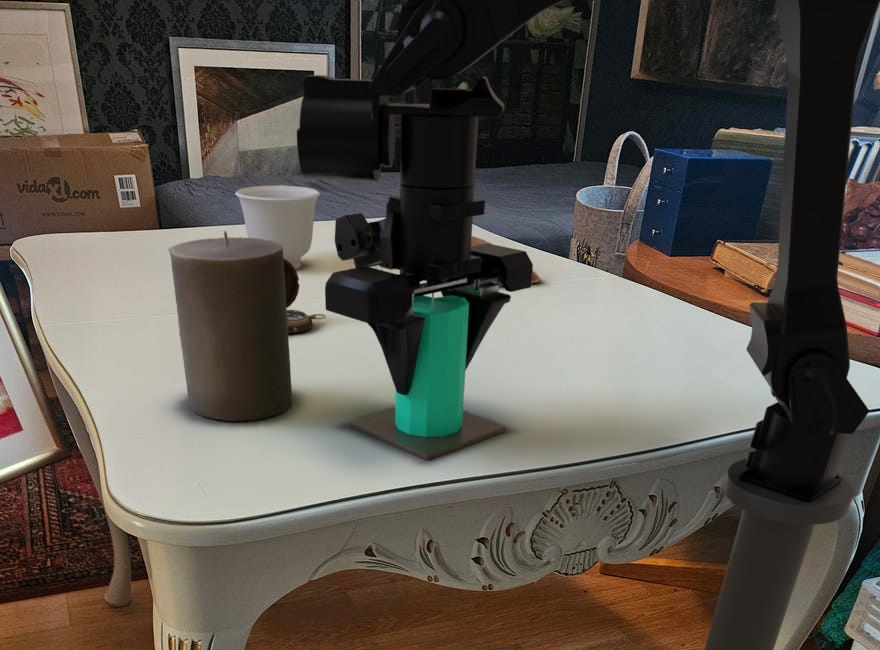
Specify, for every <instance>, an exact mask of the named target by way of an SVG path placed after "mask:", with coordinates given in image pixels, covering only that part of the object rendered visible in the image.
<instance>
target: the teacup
mask: <svg viewBox="0 0 880 650" xmlns="http://www.w3.org/2000/svg"><path fill="white" fill-rule="evenodd" d="M234 194H235V196H236V197H237V198H238V200H239V202H240V206H241V210H242V214H243V218H244V225H245V230H246V236H247V238H257V239H264V240H269V241H274V242H276V243H278V244H280V245H281V246H282V248H283V258H284V259H286V260H287V261H288V262H290V263H291V264H292V265H293V267H294V268H295V270H297V269H299V268H301V267H302V263H301V258H302V257H303V256H305V255H306V254H308V253H309V251H310V249H311V247H312V241H313V234H314V233H313V232H314V223H315V222H314V219H315V210H316V204H317V200H318V198H319V197H320V195H321V193H320V191H318V190H317V189H314V188H310V187H304V186H297V185H296V186H295V185H294V186H293V185H284V184H283V185H281V184H280V185H257V186H248V187H243V188H240V189H237V190H236V191H235V193H234Z"/></svg>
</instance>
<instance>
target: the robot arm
mask: <svg viewBox="0 0 880 650" xmlns="http://www.w3.org/2000/svg"><path fill="white" fill-rule="evenodd" d="M564 1H565V0H403V2H402V5H401V9H400V12H399V15H398V20H397V40H396V41H395V43H394V45H393V46H392V48H391V49H390V51H389V53H388V54H387V56H386V57H385V59H384V61H383V62H382V64H381V65H378V66H377V72H376V74H375V75H374V77H373V78H372V79H362V78H361V79H360V78H359V79H357V78H337V77H332V76H329V75H324V74H310V75H305V76H304V78H303V79H302V81H303V82H302V83H303V84H302V85H303V97H302V99H301V104H300V110H299V112H300V113H299V126H298V127H299V128H297V130H296V145H297V147H296V148H297V155H298V162H299V163H298V164H299V168H300V171H301V174H302V177H303V178H304V179H306V180H321V181H322V180H323V181H349V182H372V183H373V182H376V183H377V182H378V181H379V179H380V177H381V170H382V166H383V167H384V168H392V167H393V165H394V160H395V154H396V153H395V152H396V115H400V158H399V159H400V160H399V161H400V163H399V164H400V166H399V169H400V170H399V171H400V172H399V173H400V174H399V195H395V196H388V201H387V202H386V207H385V209H386V212H385V218H383V219H380V220H376V221H370V222H368V220H367V219H366V217H365V215H364V214H363V213H361V212H359V213H358V212H357V213H351V214H345V215H342V216H340V217H338V218H335V225H334V226H335V227H334V245H335V249H336V254H337V256H338V258H339V259H340V260H341V261H343V262H345V261H350V260H352V261H353V264H354V268H349V269H344V270H338V271H333V272H332V273H331V275H330V276H329V278H328V279H327V280H326V282H325V286H324V296H325V297H324V299H325V300H324V301H325V311H327V312H330V313H334V314H337V315H339V316H340V315H341V316H343V317H347V318H350V319H353V320H356V321H360V322H362V323H365V324H368V326H369V327H370V329H371V330H372V331H373V332H374V334H375V336H376V339H377V341H378V343H379V345H380V347H381V350H382V353H383V356H384V360H385V362H386V365H387V368H388V371H389V373H390V377H391V379H392V383H393V385H394V388H395V389H396V391H397V393H399V394H402V395H407V394H408V393H409V390H410V387H411V384H412V380H413V376H414V371H415V366H416V361H417V356H418V352H419V347H420V342H421V337H422V332H423V328H424V323H425V318H424V317H421V316H417V315H414V314H413V298H414V297H418V296H423V295H424V296H428V295H432V293H434V294H435V293H439V292H440V293H441V295H442V297H444V296H451V295H453V296H458V297H462V298H465V299H466V300H467V301H468V303H469V315H468V332H467V350H466V367H465V372H466V371H467V369H468V367H469V366H470V364H471V362H472V361H473V358H474V356H475V354H476V353H477V351H478V349H479V347H480V345H481V343H482V342H483V340H484V338H485V336H486V334H487V333H488V331H489V329H490V328H491V327H492V325H493V323H494V321H495V320H496V318H497V317H498V315H499V313H500V312H501V310H502V309H503V307H504V306H505V305H506V304H509V303H510V301H511V299H512V296H511V294H509V293H513V292H517V291H521V290H525V289H529V288H532V284H531V280H532V270H533V269H534V263H533V262H532V260H531V258H530V256H529V255H528V252H527V251H526V250H522V249H517V248H511V247H506V246H504V245H503V246H502V245H498V244H493V243H491V244H488V243H486V244H481V245H476V246H471V239H472V235H473V220H474V219H473V218H474V217H478V216H484V215H485V209H486V208H485V207H486V200H485V199H479V198H475V185H476V184H475V183H476V167H477V166H476V165H477V150H478V149H477V148H478V132H479V118H500V117H501V116H502V115H503V113H504V112H505V108H506V106H505V103H504V102H503V101H502V100H500V98H499V97H498V96H497V95H496V94H495V92H494V91H493V89H492V87H491V85H490V82H489V79H488V77H487V76H482V77H481V78H479V80H478V81H477V83H476V84H475V85H474V87H473V88H446V87H445V88H444V87H433V88H432V89H431V93H430V97H429V103H398V102H397V103H393V102H389V99H390V98H389V96H394V97H395V96H397V97H398V96H401V95H403V94H405V93H408V92H410V91H412V90H415V89H416V88H418V87H419V86H420V85H421V84H423V83H424V82H425V81H426V80H427V79H431V80H444V79H449V78H451V77H454V76H456V75H459V74H462V72H464V71H466V70H467V69H469V68H470V67H471V66H473V65H474V64H475V63H477V62H478V61H479V60H481V59H482V58H483V57H485V56H486V55H487V54H488V53H490V52H491V51H492V50H493V49H495V48H496V47H497V46H500V45H501V43H503V42H504V41H506V40H507V39H508V38H509V37H510V36H512V35H513V34H514V33H516V32H517V31H519V30H520V29H521V28H522V27H524V26H525V25H526V24H528V23H529V22H530V21H532V20H533V19H534V18H535V17H537V16H538V15H539V14H541V13H543V12H544V11H546V10H549V9H551V8H553V7H554V6H556V5H559V4H560V3H562V2H564ZM775 2H776V3H775V4H776V13H777V21H778V25H779V30H780V35H781V40H782V44H783V48H784V53H785V58H786V62H787V63H786V64H787V71H788V78H787V80H788V81H787V99H786V114H785V115H786V116H785V131H784V149H783V167H782V182H781V183H782V184H781V199H780V200H781V201H780V204H781V205H780V215H779V216H780V217H779V232H778V233H779V234H778V235H779V236H778V252H777V267H776V268H777V271H776V277H775V282H774V284H773V286H772V289H771V292H770V294H769V297H768V299H767V302H750V303H749V315H750V322H751V334H750V339H749V342H748V345H747V347H746V352H747V353H748V355H749V357H750V358H751V359H752V361H753V362H754V365H756V368H757V369H758V370H759V372H760V373H761V375H762V378H764V380H765V381H766V383H767V384H768V385H767V386H769V388H770V394H771V396H772V397H774V398H775V400H776V402H775V403H772V404H771V405H768V406H767V407H766V408H765V411H764V415H763V419H761V420H759V421H757V422H756V424H755V426H754V431H753V434H752V438H751V443H750V449H751V448H752V449H754V451H749V452H747V457H746V459H747V460H746V466H747V467H749V469H747V470H745V471H744V472H742V473H740V477H739V479H740V480H742V481H745V482H748V483H751V484H754V485H756V486H759V487H762V488H765V489H768V490H771V491H774V492H777V493H779V494H782V495H785V496H788V497H791V498H794V499H797V500H799V501H802V502H807V503H810V502H812V501H814V500H815V499H817V498H818V497H820V496H821V495H823V494H825V493H826V492H828V491H829V490H831V489H832V488H834V487H835V486H837V485H838V484H840V483H841V480H842V477H843V476H842V477H840V476H837V475H836V474H838V470H839V467H840V464H841V461H842V459H843V457H844V453H845V450H846V446H847V444H848V441H849V438H850V435H852V434H854V433H855V432H856V430H857V429H858V428H859V426H860V425H861V424H862V423H863V421H864V420H865V418H866V417H867V416H868V414H869V412H870V411H869V407H868V406H867V405H866V403H865V402H864V400H863V399H862V398H861V396H860V395H859V394H858V392H857V391H856V389H855V388H854V386H853V385H852V384H851V383H850V381H849V380H848V375H849V372H850V367H851V358H850V348H849V347H850V346H849V336H848V326H847V321H846V316H845V311H844V306H843V302H842V297H841V293H840V292H841V291H840V288H839V281H838V280H839V279H838V275H839V274H838V272H839V264H840V263H839V262H840V252H841V241H842V232H843V220H844V210H845V199H846V188H847V180H848V179H847V177H848V167H849V158H850V157H849V155H850V146H851V136H852V124H853V117H854V116H853V114H854V104H855V93H856V85H857V84H856V83H857V73H858V64H859V60H860V57H861V52H862V50H863V47H864V44H865V42H866V39H867V37H868V35H869V32H870V30H871V27H872V24H873V21H874V19H875V16H876V14H877V11H878V9H879V6H880V0H775ZM378 266H379V267H380V268H383V269H387V270H397V271H398V270H399V273H394V272H390V271H386V270H382V269H378V268H375V267H378ZM497 281H501V283H502V285H503V286H502V287H503V288H504V290H505V291H506V292H509V293H508V294H507V293H504V292H500V286H499V284H498V283H497ZM421 282H422V283H421Z"/></svg>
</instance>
